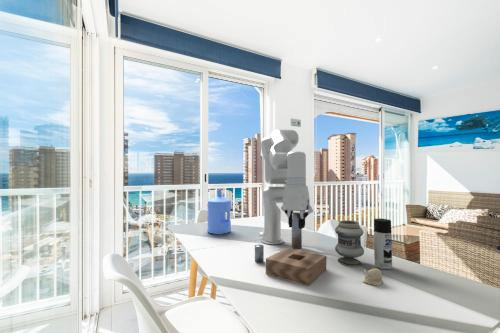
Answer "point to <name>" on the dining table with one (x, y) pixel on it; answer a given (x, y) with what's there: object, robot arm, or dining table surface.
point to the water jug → (219, 214)
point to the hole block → (296, 265)
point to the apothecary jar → (349, 242)
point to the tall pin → (296, 231)
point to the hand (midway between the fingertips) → (296, 227)
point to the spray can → (382, 243)
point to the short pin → (259, 253)
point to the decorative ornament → (373, 277)
